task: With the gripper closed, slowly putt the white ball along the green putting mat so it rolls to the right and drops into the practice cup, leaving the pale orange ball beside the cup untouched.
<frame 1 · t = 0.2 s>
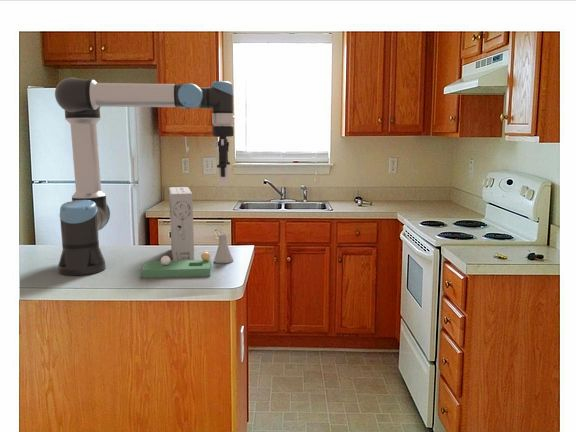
hand: (224, 184, 194), 28 cm above the table, fingers open, 13 cm apart
flask: (223, 261, 193), on the table
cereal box: (182, 255, 203), on the table
green: (178, 271, 179), on the table
ball: (165, 260, 178), point 4 cm above the table, touching green
orange ball: (205, 256, 183), point 4 cm above the table, touching green
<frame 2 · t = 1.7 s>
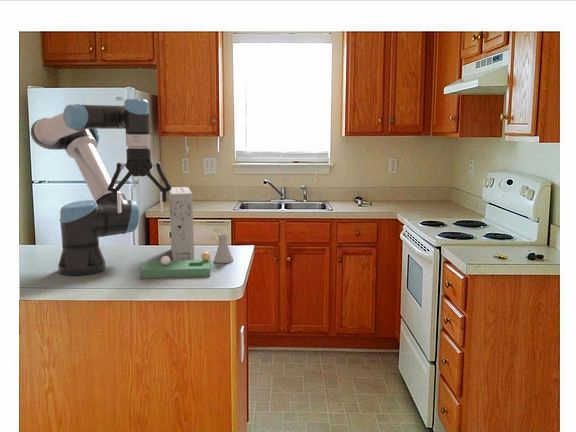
hand: (140, 212, 175), 21 cm above the table, fingers open, 13 cm apart
nothing on the table moved.
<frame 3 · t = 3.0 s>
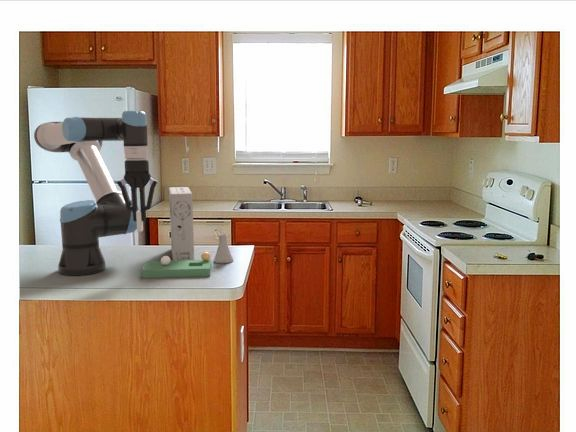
hand: (140, 230, 175), 15 cm above the table, fingers closed
nothing on the table moved.
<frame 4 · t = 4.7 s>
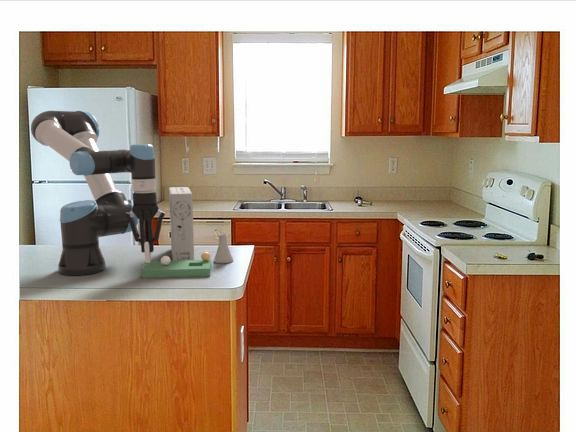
hand: (148, 261, 177), 4 cm above the table, fingers closed
nothing on the table moved.
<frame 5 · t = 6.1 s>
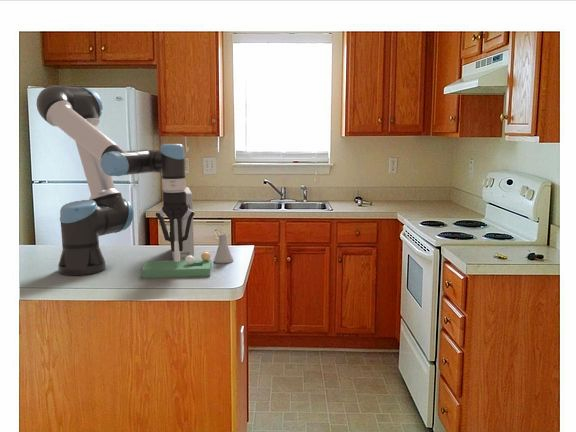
hand: (177, 260, 178), 4 cm above the table, fingers closed
ball: (189, 260, 178), point 4 cm above the table, tilted 72°, touching green
everything else where it was.
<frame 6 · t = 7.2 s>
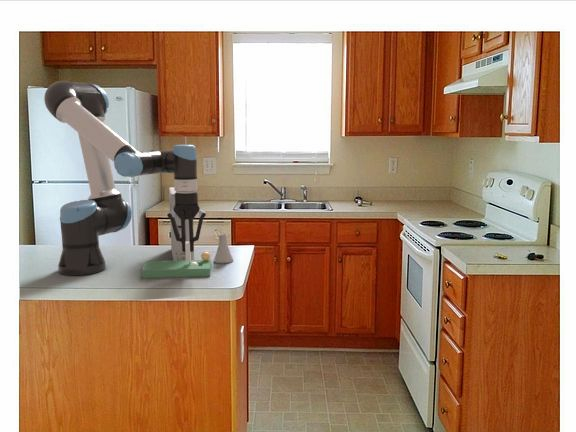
hand: (188, 261, 178), 4 cm above the table, fingers closed
ball: (194, 266, 179), point 2 cm above the table, touching green
everything else where it was.
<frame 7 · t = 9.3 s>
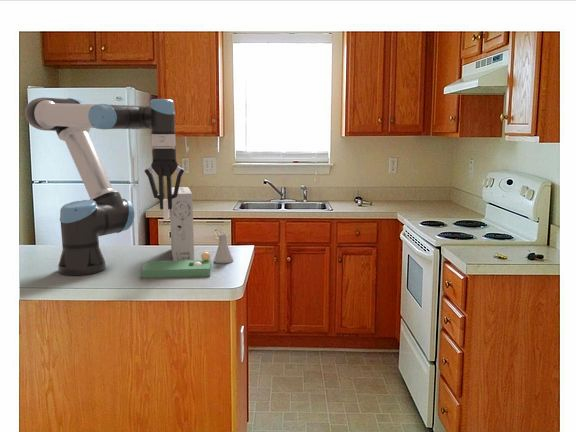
hand: (166, 218, 175), 18 cm above the table, fingers closed
ball: (197, 266, 179), point 2 cm above the table, tilted 42°, touching green
everything else where it was.
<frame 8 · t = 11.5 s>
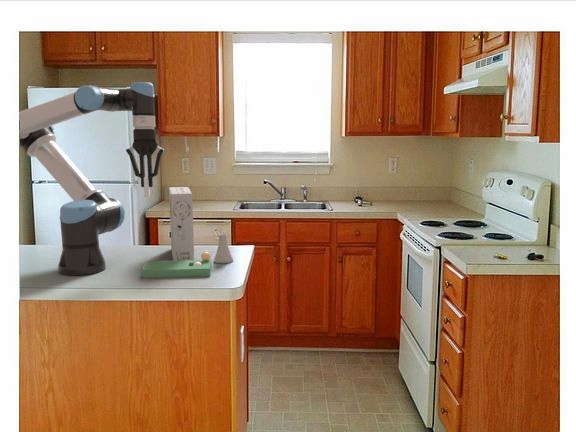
hand: (147, 196, 185), 24 cm above the table, fingers closed
nothing on the table moved.
at the end: ball 0.7 cm from the target spot on the green, point 1.8 cm above the green's base; orange ball moved 0.0 cm from its start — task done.
